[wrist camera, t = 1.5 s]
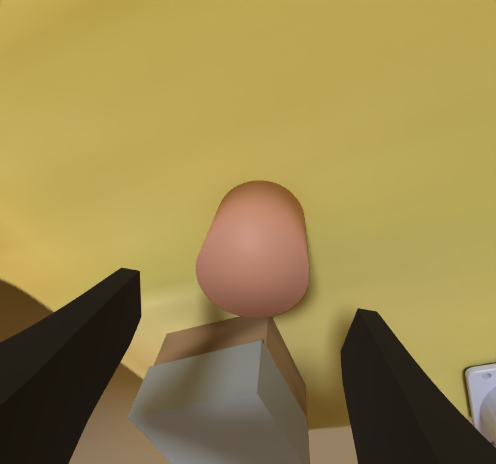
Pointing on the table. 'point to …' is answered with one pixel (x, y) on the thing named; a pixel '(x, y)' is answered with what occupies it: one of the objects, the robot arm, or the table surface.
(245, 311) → the pink cylinder
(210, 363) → the tower top
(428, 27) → the table surface
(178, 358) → the tower base
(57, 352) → the robot arm
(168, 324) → the table surface
